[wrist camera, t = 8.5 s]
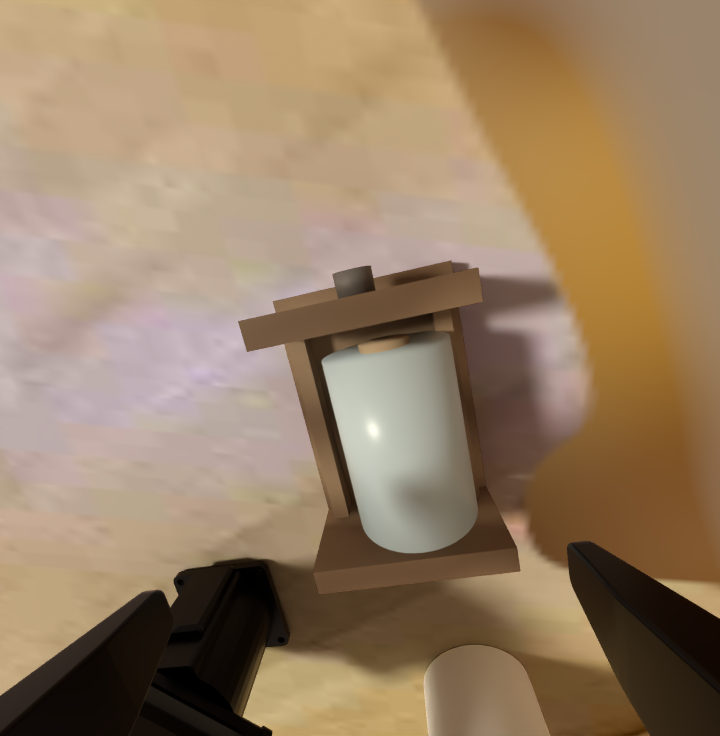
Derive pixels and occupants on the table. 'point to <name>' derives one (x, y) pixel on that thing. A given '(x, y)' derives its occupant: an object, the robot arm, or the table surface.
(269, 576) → the robot arm
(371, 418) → the roll
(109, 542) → the table surface
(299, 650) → the table surface
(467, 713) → the cylindrical container
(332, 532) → the holder
